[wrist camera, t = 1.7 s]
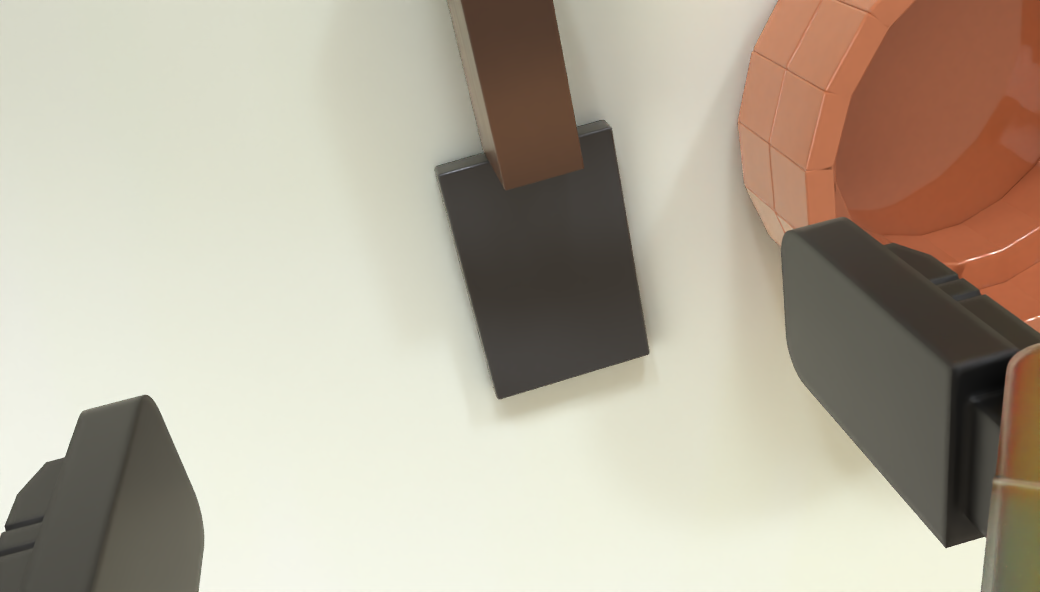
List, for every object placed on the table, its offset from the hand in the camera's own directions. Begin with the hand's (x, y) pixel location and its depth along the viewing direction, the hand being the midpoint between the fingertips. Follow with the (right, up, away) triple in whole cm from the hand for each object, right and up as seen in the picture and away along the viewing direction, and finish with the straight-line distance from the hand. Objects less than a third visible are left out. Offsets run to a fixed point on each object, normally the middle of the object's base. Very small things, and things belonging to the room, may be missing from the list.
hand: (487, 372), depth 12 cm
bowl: (+13, +7, +19) cm, 24 cm away
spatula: (0, +5, +16) cm, 17 cm away
